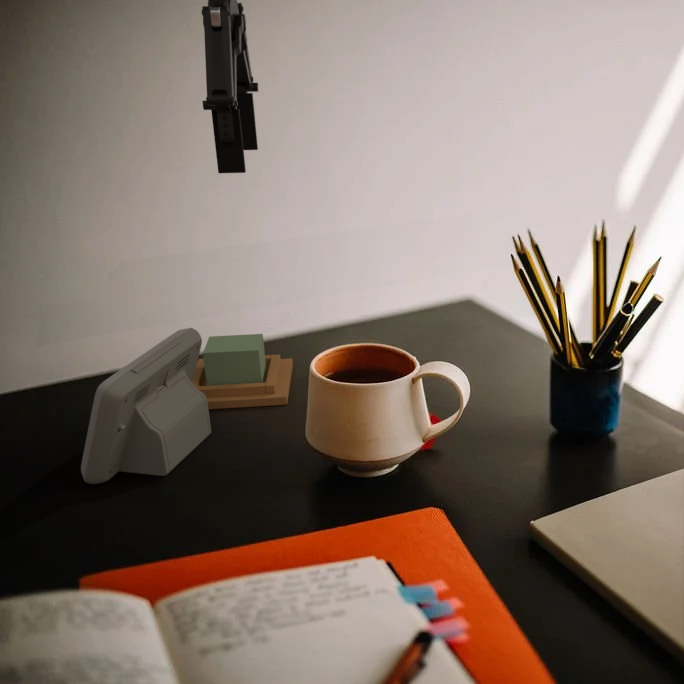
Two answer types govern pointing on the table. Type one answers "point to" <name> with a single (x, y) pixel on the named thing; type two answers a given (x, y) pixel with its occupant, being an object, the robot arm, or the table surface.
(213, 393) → the socket pad
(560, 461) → the table surface
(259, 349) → the green block
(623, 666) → the table surface
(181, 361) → the digital clock
